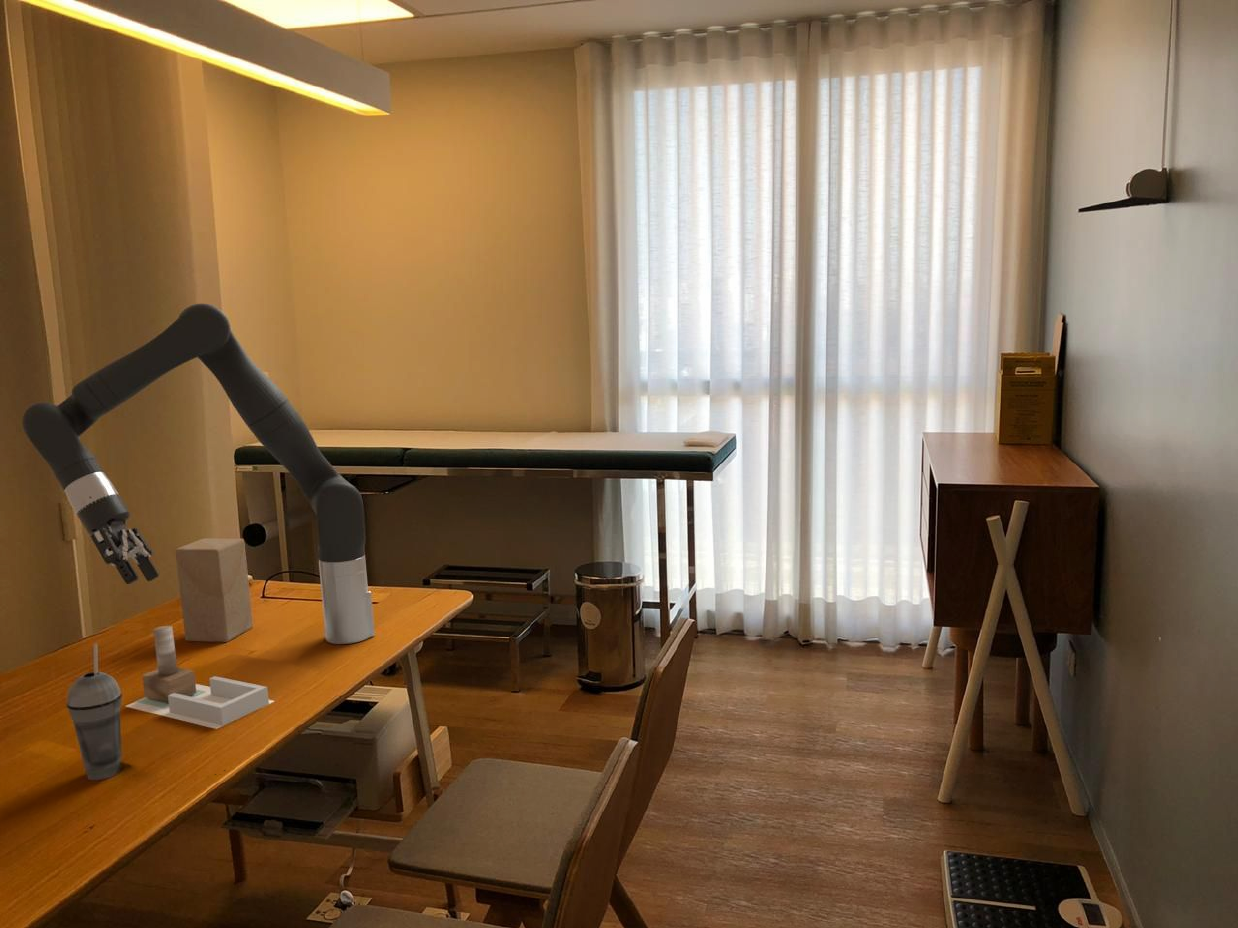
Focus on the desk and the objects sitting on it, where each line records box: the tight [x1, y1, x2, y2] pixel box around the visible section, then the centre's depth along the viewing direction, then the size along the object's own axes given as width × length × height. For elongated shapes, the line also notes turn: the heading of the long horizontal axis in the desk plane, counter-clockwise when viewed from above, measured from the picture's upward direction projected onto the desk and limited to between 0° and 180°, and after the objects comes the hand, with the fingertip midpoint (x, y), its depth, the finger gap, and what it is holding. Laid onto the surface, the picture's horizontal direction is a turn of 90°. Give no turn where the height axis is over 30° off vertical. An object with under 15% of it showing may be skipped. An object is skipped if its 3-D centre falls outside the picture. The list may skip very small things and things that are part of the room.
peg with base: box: [141, 625, 197, 703], centre depth 168 cm, size 7×5×12 cm
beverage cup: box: [66, 643, 123, 781], centre depth 143 cm, size 7×7×20 cm
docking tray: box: [124, 676, 276, 730], centre depth 166 cm, size 23×12×4 cm, turn 62°
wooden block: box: [174, 537, 254, 643], centre depth 206 cm, size 10×10×20 cm
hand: (144, 580), depth 174 cm, fingers open, 8 cm apart
